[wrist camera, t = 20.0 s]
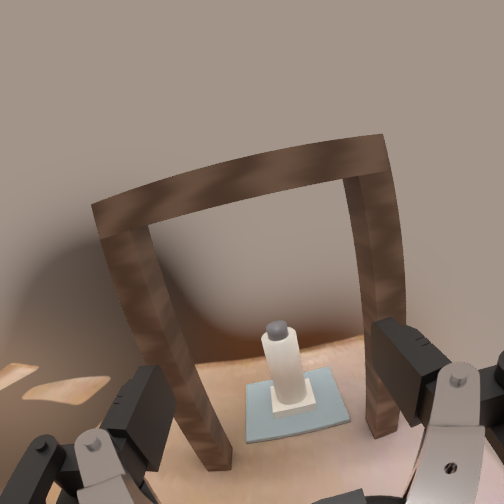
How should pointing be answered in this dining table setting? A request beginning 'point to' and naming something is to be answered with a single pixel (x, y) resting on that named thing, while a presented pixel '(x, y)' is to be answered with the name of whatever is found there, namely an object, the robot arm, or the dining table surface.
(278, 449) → the dining table surface
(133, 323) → the archway
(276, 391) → the white tall cylinder
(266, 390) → the mat
